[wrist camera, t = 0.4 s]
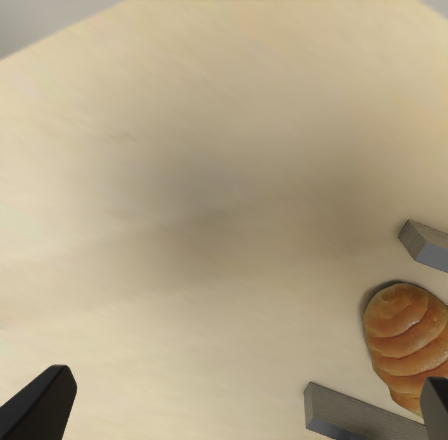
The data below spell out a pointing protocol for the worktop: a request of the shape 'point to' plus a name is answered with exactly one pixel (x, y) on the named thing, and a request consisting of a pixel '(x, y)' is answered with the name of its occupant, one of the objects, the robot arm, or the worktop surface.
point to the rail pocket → (359, 411)
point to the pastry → (407, 340)
